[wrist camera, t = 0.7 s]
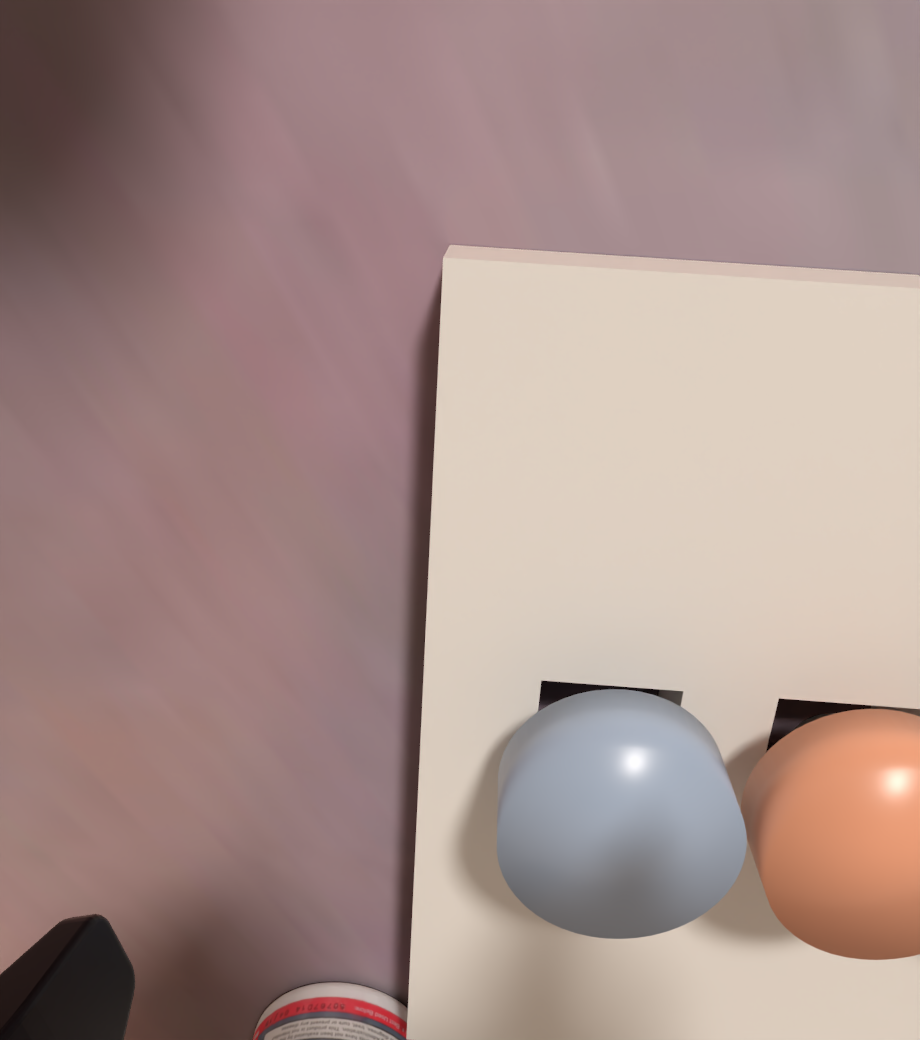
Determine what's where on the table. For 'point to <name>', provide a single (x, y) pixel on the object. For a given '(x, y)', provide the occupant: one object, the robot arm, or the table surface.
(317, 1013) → the pill bottle
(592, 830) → the slate button
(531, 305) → the panel
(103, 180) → the table surface
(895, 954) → the terracotta button
